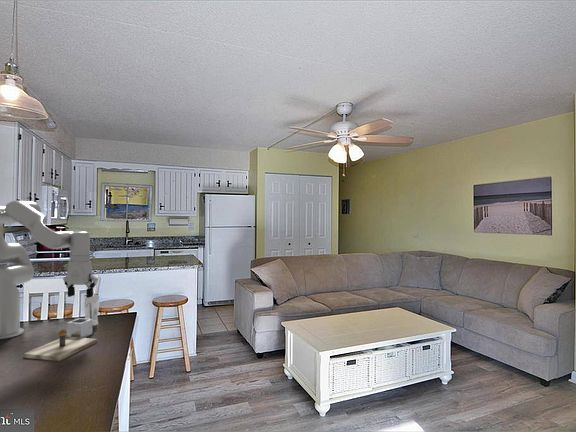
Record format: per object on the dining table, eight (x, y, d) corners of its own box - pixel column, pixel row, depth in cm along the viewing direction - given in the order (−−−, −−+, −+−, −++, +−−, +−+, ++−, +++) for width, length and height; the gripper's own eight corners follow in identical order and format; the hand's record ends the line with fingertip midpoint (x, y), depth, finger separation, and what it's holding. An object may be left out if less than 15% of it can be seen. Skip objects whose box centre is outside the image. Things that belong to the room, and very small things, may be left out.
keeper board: (23, 357, 128) (23, 336, 128) (64, 339, 147) (65, 321, 147) (59, 360, 126) (59, 339, 126) (96, 342, 144) (97, 323, 144)
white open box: (66, 338, 149) (66, 322, 149) (79, 333, 156) (79, 318, 156) (80, 339, 147) (80, 323, 147) (92, 334, 154) (92, 318, 154)
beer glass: (86, 328, 163) (87, 297, 163) (80, 325, 167) (81, 295, 167) (101, 324, 168) (102, 294, 168) (95, 321, 172) (95, 292, 172)
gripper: (57, 259, 149) (57, 297, 149) (90, 260, 146) (90, 299, 146) (70, 257, 157) (70, 294, 157) (103, 258, 154) (103, 295, 154)
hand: (80, 296), depth 152 cm, fingers open, 9 cm apart
